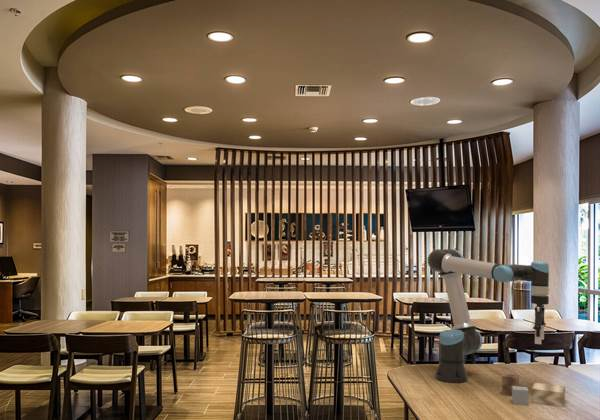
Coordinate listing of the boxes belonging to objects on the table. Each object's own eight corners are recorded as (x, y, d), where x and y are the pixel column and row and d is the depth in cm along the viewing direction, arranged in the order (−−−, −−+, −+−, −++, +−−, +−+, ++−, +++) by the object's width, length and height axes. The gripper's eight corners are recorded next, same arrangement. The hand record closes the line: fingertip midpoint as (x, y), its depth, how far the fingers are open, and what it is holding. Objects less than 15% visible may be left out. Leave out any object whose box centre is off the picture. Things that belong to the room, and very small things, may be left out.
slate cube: (513, 403, 238) (513, 389, 238) (511, 400, 244) (511, 385, 244) (528, 405, 236) (528, 390, 237) (526, 401, 242) (526, 387, 242)
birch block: (531, 403, 240) (531, 388, 241) (535, 396, 251) (535, 382, 251) (563, 407, 235) (563, 392, 235) (565, 400, 245) (564, 386, 246)
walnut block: (502, 394, 252) (502, 376, 253) (504, 391, 258) (504, 373, 258) (516, 396, 249) (516, 378, 250) (518, 393, 255) (518, 375, 255)
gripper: (546, 298, 250) (546, 346, 249) (550, 293, 272) (550, 338, 271) (528, 296, 254) (527, 344, 253) (533, 292, 276) (533, 336, 275)
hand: (539, 341), depth 262 cm, fingers open, 13 cm apart
